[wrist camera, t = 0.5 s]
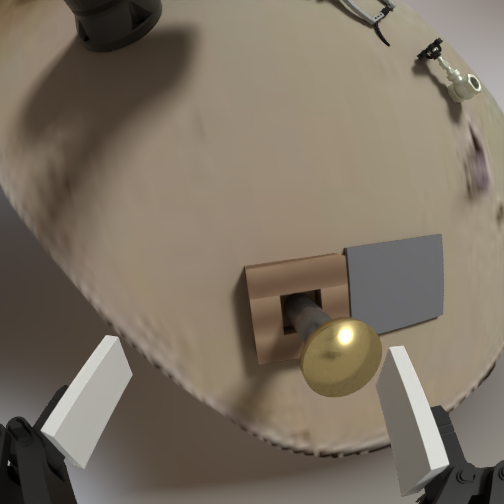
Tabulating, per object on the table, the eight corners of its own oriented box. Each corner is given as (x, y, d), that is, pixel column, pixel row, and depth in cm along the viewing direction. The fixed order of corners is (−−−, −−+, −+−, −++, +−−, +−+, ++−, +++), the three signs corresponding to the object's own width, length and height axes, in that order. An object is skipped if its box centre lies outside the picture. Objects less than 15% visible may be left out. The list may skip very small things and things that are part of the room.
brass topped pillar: (269, 285, 36) (300, 330, 19) (318, 278, 37) (382, 313, 20) (275, 333, 37) (305, 404, 20) (322, 324, 37) (380, 385, 20)
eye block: (244, 265, 37) (245, 270, 33) (334, 253, 38) (345, 255, 34) (256, 352, 38) (258, 365, 34) (340, 337, 39) (350, 347, 35)
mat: (344, 248, 38) (346, 248, 37) (437, 234, 39) (441, 234, 38) (350, 338, 39) (352, 340, 38) (439, 313, 40) (442, 314, 39)
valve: (465, 96, 38) (425, 48, 37) (486, 85, 31) (443, 33, 30) (454, 111, 38) (412, 60, 37) (477, 100, 31) (430, 43, 30)
